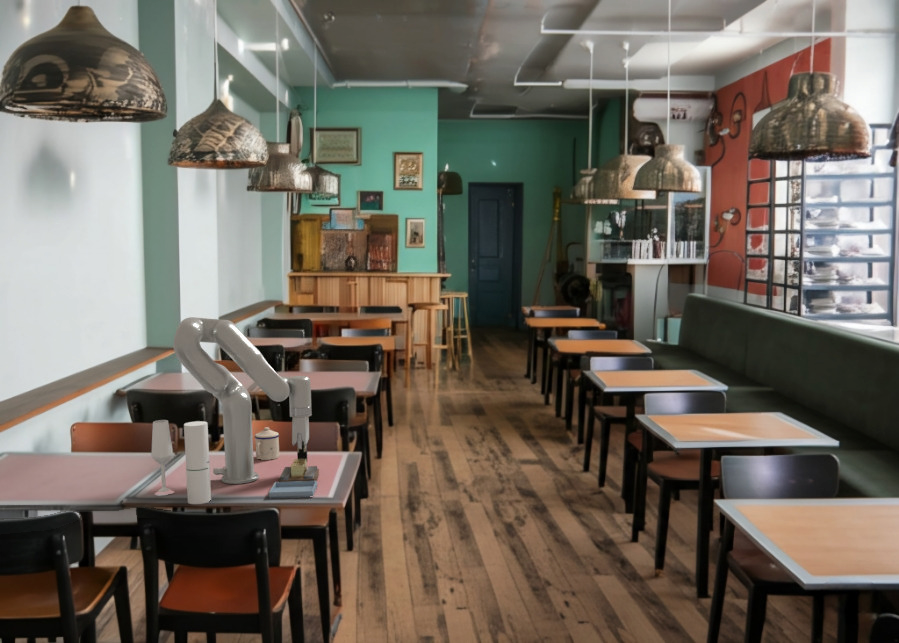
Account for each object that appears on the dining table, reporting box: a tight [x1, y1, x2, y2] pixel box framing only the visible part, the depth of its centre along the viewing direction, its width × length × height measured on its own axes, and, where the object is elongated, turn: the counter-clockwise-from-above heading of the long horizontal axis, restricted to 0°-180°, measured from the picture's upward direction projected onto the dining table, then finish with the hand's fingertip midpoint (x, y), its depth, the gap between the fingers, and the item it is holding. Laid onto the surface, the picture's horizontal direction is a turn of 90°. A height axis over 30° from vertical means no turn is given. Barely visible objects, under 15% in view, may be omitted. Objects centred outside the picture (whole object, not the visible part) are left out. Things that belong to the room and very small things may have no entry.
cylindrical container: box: [183, 420, 212, 505], centre depth 272 cm, size 7×7×25 cm
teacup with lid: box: [254, 426, 280, 461], centre depth 325 cm, size 12×9×12 cm
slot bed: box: [277, 465, 320, 482], centre depth 293 cm, size 12×13×4 cm
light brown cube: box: [292, 458, 308, 473], centre depth 296 cm, size 4×4×4 cm
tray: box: [268, 480, 318, 499], centre depth 280 cm, size 14×12×2 cm
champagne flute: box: [151, 419, 174, 492], centre depth 282 cm, size 7×7×24 cm
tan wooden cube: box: [290, 462, 305, 478], centre depth 291 cm, size 4×4×4 cm
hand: (302, 462), depth 303 cm, fingers closed
